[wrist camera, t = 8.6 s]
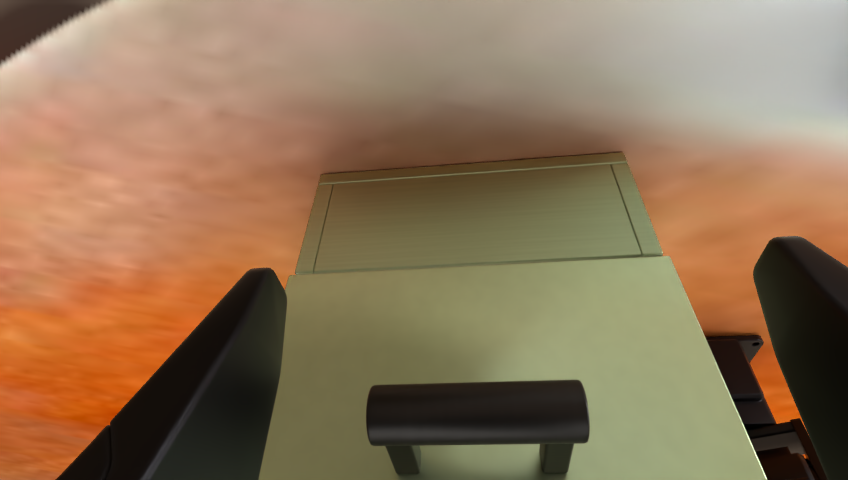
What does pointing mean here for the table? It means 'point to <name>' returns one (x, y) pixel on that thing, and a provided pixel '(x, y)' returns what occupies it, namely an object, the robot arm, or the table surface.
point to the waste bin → (477, 216)
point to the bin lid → (502, 377)
